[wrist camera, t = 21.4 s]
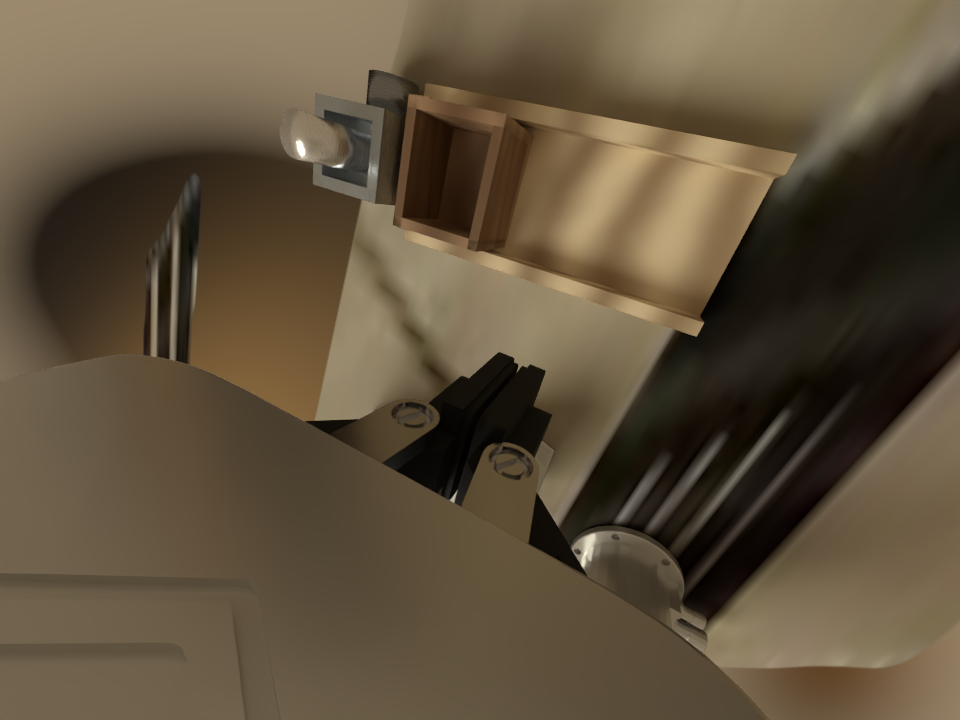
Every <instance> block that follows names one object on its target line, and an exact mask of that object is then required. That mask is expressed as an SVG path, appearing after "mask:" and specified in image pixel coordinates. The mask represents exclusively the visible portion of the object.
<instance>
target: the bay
mask: <svg viewBox="0 0 960 720" xmlns="http://www.w3.org/2000/svg"><path fill="white" fill-rule="evenodd" d="M413 95H416V96H421V97H426V98H431V99H436V100H441V101H446V102H451V103H455V104H460V105H465V106H470V107H475V108H480V109H485V110H490V111H495V112H499V113H504V114H508V115H509V116H510V117H511V118H512V119H513V120H515V121H516V122H517V123H518V124H519V125H521V126H522V127H523V128H524V129H525V130H527V131H528V132H529V133H530V134H531V135H532V136H534V137H533V140H532V144H531V148H530V152H529V156H528V160H527V163H526V167H525V171H524V175H523V179H522V183H521V186H520V190H519V194H518V198H517V202H516V206H515V209H514V213H513V217H512V221H511V225H510V229H509V232H508V236H507V240H506V244H505V247H504V248H497V249H491V250H484V251H478V252H475V251H472V250H469V249H465V248H462V247H459V246H456V245H453V244H450V243H447V242H444V241H441V240H438V239H435V238H432V237H429V236H425V235H422V234H419V233H416V232H413V231H410V230H407V229H405V235H404V239H406V240H409V241H412V242H415V243H418V244H421V245H424V246H427V247H430V248H433V249H436V250H439V251H442V252H445V253H448V254H451V255H454V256H457V257H460V258H463V259H466V260H469V261H472V262H475V263H478V264H481V265H484V266H487V267H490V268H493V269H496V270H499V271H502V272H505V273H508V274H511V275H514V276H517V277H520V278H523V279H526V280H529V281H532V282H535V283H538V284H541V285H544V286H547V287H550V288H553V289H556V290H559V291H562V292H565V293H568V294H571V295H574V296H577V297H580V298H582V299H585V300H588V301H591V302H594V303H597V304H600V305H603V306H606V307H609V308H612V309H615V310H618V311H621V312H624V313H627V314H630V315H633V316H636V317H639V318H642V319H645V320H648V321H651V322H654V323H657V324H660V325H663V326H666V327H669V328H672V329H675V330H678V331H681V332H684V333H687V334H690V335H693V336H696V337H697V335H698V333H699V331H700V330H701V328H702V326H703V324H704V322H703V320H702V319H701V317H700V315H701V313H702V311H703V309H704V307H705V306H706V304H707V302H708V300H709V298H710V296H711V295H712V293H713V291H714V289H715V287H716V285H717V283H718V282H719V280H720V278H721V276H722V274H723V272H724V270H725V269H726V267H727V265H728V263H729V261H730V259H731V258H732V256H733V254H734V252H735V250H736V248H737V246H738V245H739V243H740V241H741V239H742V237H743V235H744V234H745V232H746V230H747V228H748V226H749V224H750V222H751V221H752V219H753V217H754V215H755V213H756V211H757V209H758V208H759V206H760V204H761V202H762V200H763V198H764V197H765V195H766V193H767V191H768V189H769V187H770V185H771V184H772V182H773V180H774V179H775V178H778V177H781V176H784V175H786V174H787V172H788V170H789V168H790V166H791V164H792V163H793V161H794V159H795V157H796V155H797V154H793V153H788V152H783V151H778V150H773V149H767V148H762V147H757V146H752V145H747V144H741V143H736V142H731V141H726V140H721V139H715V138H710V137H705V136H700V135H695V134H689V133H684V132H679V131H674V130H669V129H663V128H658V127H653V126H648V125H643V124H637V123H632V122H627V121H622V120H616V119H611V118H606V117H601V116H596V115H590V114H585V113H580V112H575V111H570V110H564V109H559V108H554V107H549V106H544V105H538V104H533V103H528V102H523V101H518V100H512V99H507V98H502V97H497V96H492V95H486V94H481V93H476V92H471V91H466V90H460V89H455V88H450V87H445V86H440V85H434V84H429V83H425V90H424V96H422V95H417V94H413ZM396 227H398V226H396ZM399 228H401V227H399ZM402 229H404V228H402Z"/></svg>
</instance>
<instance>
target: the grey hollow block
mask: <svg viewBox="0 0 960 720" xmlns="http://www.w3.org/2000/svg"><path fill="white" fill-rule="evenodd" d="M418 88H419V87H418V86H417V85H416V84H414V83H412V82H411V81H409V80H406V79H404V78H402V77H399V76H396V75H393V74H390V73H387V72H383V71H378V70H369V76H368V90H367V101H366V104H361V103H357V102H352V101H348V100H344V99H339V98H335V97H330V96H325V95H321V94H317V93H316V95H315V116H318V117H321V118H324V119H326V120H329V121H332V122H335V123H338V124H340V125H343V126H346V127H349V128H351V129H354V130H357V131H360V132H362V133H365V134H368V135H371V146H370V157H369V168H368V175H367V174H363V173H358V172H353V171H349V170H344V169H340V168H335V167H330V166H326V165H321V164H317V163H314V167H313V168H314V169H313V184H314V185H317V186H320V187H323V188H327V189H330V190H333V191H336V192H340V193H343V194H346V195H350V196H353V197H356V198H359V199H362V200H365V201H368V202H372V203H375V204H386V205H395V204H396V195H397V187H398V179H399V171H400V163H401V155H402V146H403V138H404V130H405V122H406V114H407V106H408V97H409V94H412V95H413V94H417V95H418Z"/></svg>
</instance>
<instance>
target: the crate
mask: <svg viewBox="0 0 960 720" xmlns="http://www.w3.org/2000/svg"><path fill="white" fill-rule="evenodd" d="M533 137H534V136H532V135H531V134H530V133H529V132H528V131H527V130H525V129H524V128H523V127H522V126H521V125H519V124H518V123H517V122H516V121H515V120H513V119H512V118H511V117H510V116H509V115H508V114H504V113H499V112H495V111H490V110H485V109H480V108H475V107H470V106H465V105H460V104H455V103H451V102H446V101H441V100H436V99H431V98H426V97H421V96H416V95H412V94H409V97H408V106H407V114H406V122H405V130H404V138H403V146H402V155H401V163H400V171H399V179H398V187H397V195H396V204H395V212H394V220H393V225H395V226H398V227H401V228H404V229H407V230H410V231H413V232H416V233H419V234H422V235H425V236H429V237H432V238H435V239H438V240H441V241H444V242H447V243H450V244H453V245H456V246H459V247H462V248H465V249H469V250H472V251H475V252H478V251H484V250H491V249H497V248H504V247H505V244H506V240H507V236H508V232H509V229H510V225H511V221H512V217H513V213H514V209H515V206H516V202H517V198H518V194H519V190H520V186H521V183H522V179H523V175H524V171H525V167H526V163H527V160H528V156H529V152H530V148H531V144H532V140H533Z"/></svg>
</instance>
